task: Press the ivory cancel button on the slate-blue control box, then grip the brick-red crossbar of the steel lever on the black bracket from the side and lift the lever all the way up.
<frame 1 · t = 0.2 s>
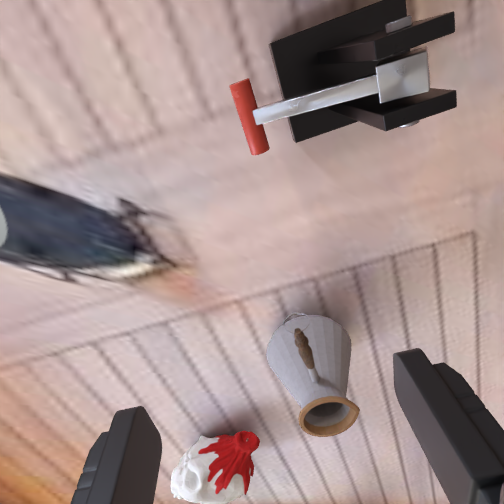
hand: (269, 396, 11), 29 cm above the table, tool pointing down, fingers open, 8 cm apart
coffee pot: (296, 310, 46), on the table
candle: (222, 439, 58), on the table
bracket: (341, 73, 32), on the table
lever: (322, 98, 24), point 11 cm above the table, hinge at -28.0°
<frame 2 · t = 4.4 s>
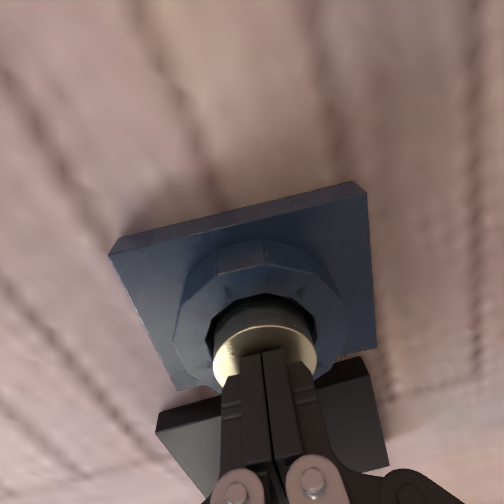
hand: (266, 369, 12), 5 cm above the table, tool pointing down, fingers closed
control box: (255, 287, 16), on the table
button: (263, 347, 12), point 4 cm above the table, slide at 0.0 cm, touching gripper
bracket: (278, 430, 21), on the table
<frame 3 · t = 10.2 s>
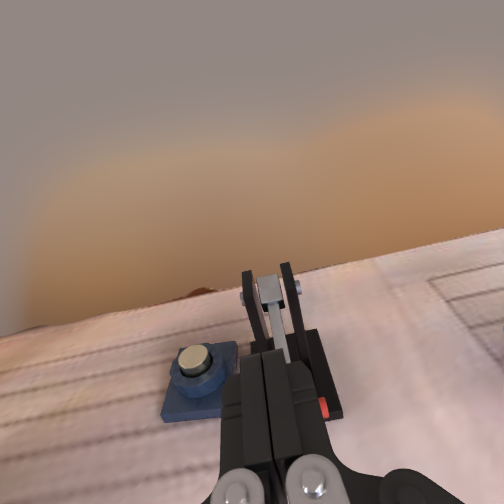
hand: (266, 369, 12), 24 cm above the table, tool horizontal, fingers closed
control box: (204, 382, 43), on the table
button: (195, 360, 41), point 4 cm above the table, slide at 0.1 cm
bracket: (291, 378, 40), on the table
lever: (280, 344, 31), point 11 cm above the table, hinge at -28.0°
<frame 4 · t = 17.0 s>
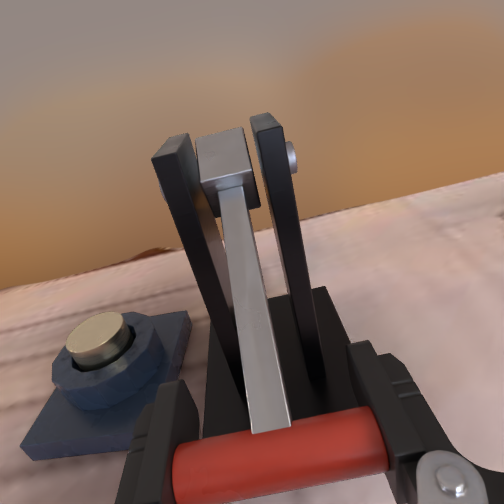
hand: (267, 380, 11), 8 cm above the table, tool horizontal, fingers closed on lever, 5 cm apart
control box: (125, 381, 24), on the table
button: (100, 340, 22), point 4 cm above the table, slide at 0.1 cm
bracket: (281, 371, 21), on the table
lever: (245, 272, 12), point 11 cm above the table, hinge at -28.0°, touching gripper
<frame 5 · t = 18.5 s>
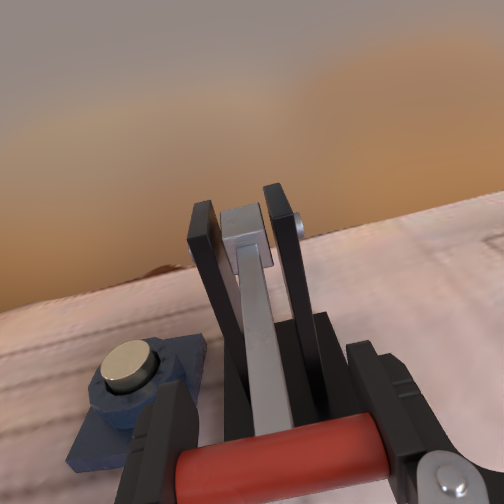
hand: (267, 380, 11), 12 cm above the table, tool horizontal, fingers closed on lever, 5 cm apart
control box: (150, 399, 27), on the table
button: (130, 366, 25), point 4 cm above the table, slide at 0.1 cm
bracket: (288, 391, 24), on the table
lever: (256, 308, 14), point 12 cm above the table, hinge at -6.5°, touching gripper
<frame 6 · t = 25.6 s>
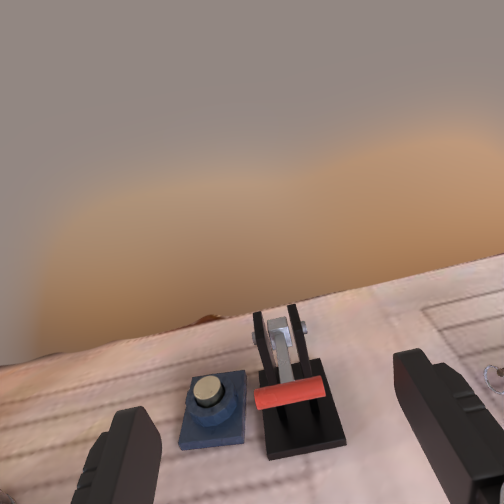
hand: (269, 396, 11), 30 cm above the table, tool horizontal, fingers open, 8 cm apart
control box: (217, 410, 46), on the table
button: (208, 391, 44), point 4 cm above the table, slide at 0.1 cm
bracket: (298, 406, 44), on the table
lever: (283, 356, 32), point 15 cm above the table, hinge at 17.8°
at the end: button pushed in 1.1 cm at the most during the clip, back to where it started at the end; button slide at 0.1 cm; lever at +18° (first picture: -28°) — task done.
